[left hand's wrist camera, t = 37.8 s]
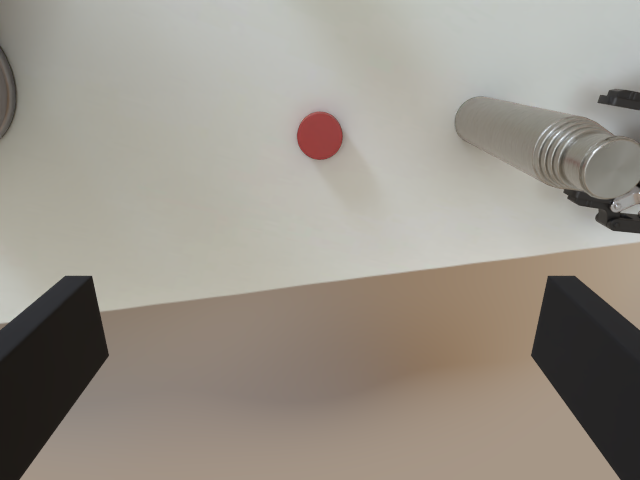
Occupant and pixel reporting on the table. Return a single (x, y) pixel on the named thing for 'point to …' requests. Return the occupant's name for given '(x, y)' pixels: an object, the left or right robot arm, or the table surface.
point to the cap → (319, 135)
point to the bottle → (552, 146)
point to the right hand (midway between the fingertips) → (585, 146)
